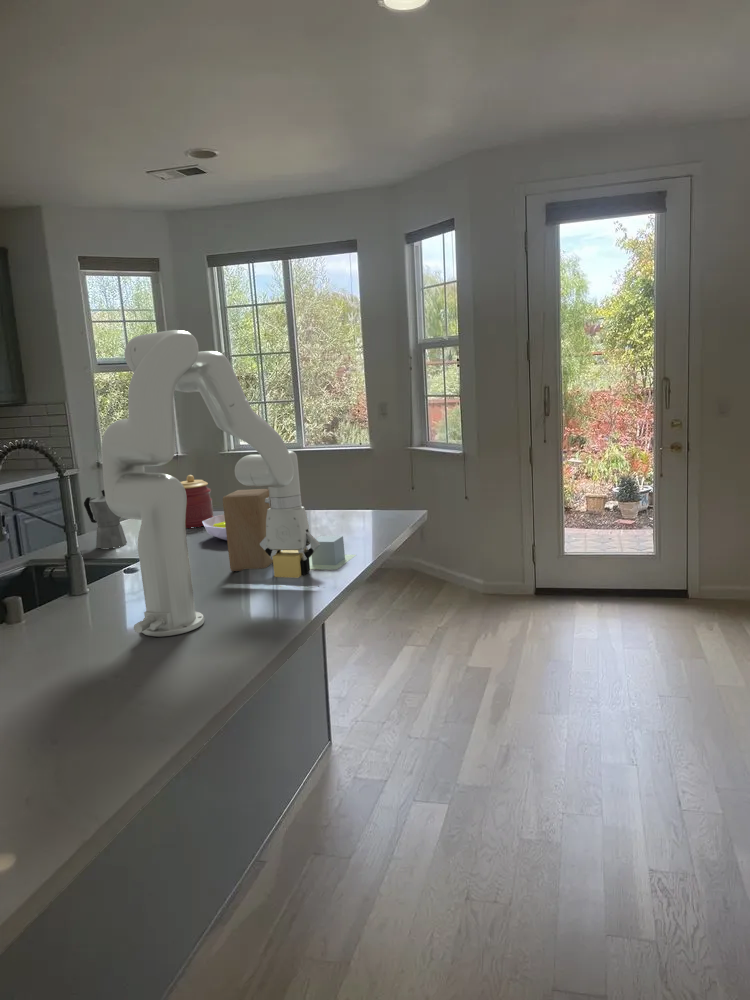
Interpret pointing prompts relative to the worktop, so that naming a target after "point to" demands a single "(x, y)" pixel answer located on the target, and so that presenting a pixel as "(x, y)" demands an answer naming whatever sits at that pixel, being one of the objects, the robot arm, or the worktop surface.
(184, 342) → the robot arm
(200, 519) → the canister
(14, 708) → the worktop surface
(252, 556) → the block
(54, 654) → the worktop surface
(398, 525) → the worktop surface
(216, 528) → the fruit bowl
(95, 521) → the coffeepot
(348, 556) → the plate
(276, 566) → the ochre brick
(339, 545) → the slate brick
